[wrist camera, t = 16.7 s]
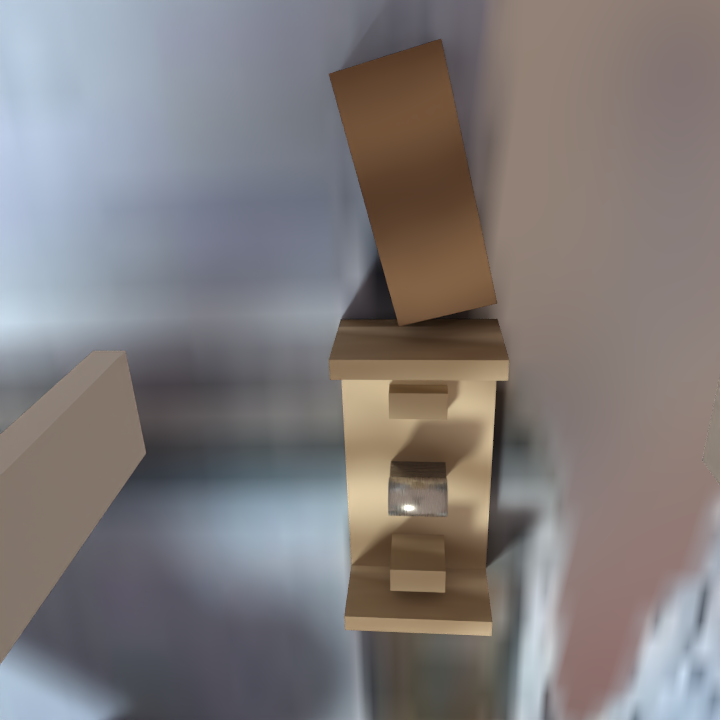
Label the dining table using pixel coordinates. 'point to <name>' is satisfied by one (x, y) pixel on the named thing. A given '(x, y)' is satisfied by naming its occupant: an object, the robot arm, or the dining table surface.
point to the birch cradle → (419, 470)
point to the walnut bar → (415, 182)
